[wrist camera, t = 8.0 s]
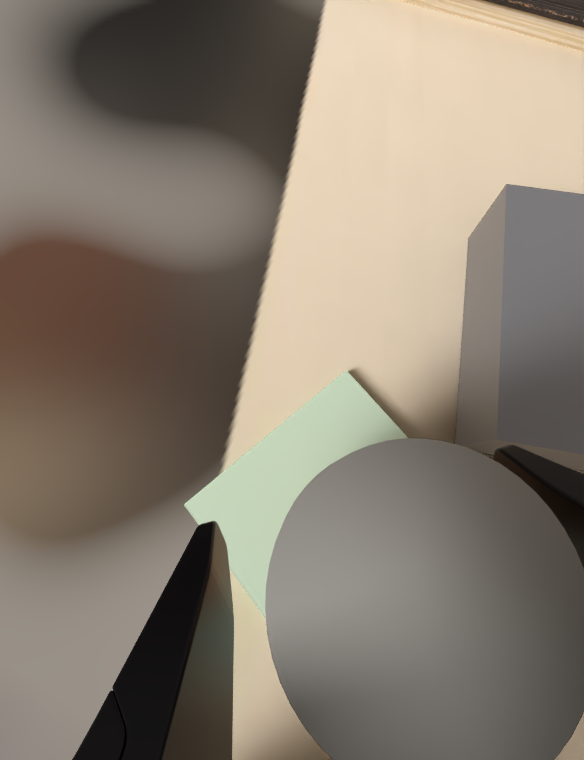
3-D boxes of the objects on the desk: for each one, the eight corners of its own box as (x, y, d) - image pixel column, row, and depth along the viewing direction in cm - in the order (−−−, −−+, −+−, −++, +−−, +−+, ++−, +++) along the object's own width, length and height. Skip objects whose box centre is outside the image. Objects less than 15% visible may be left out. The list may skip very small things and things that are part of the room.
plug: (407, 495, 17) (635, 527, 5) (366, 595, 16) (536, 894, 4) (317, 449, 18) (348, 389, 6) (271, 542, 17) (205, 682, 5)
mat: (490, 533, 17) (497, 535, 17) (326, 696, 16) (327, 705, 15) (344, 373, 19) (346, 370, 19) (187, 503, 18) (183, 504, 17)
